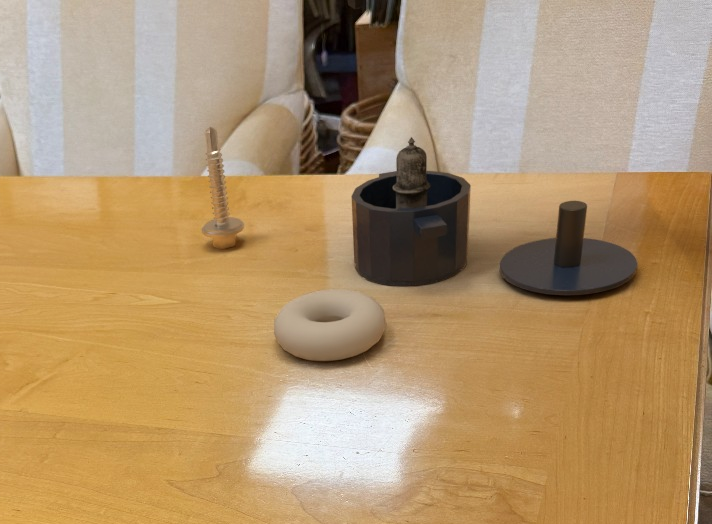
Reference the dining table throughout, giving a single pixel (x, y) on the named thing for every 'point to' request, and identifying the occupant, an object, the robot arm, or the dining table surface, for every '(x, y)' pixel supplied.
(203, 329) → the dining table surface
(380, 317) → the donut
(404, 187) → the salt shaker
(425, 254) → the pot
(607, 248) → the lid
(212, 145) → the screw
